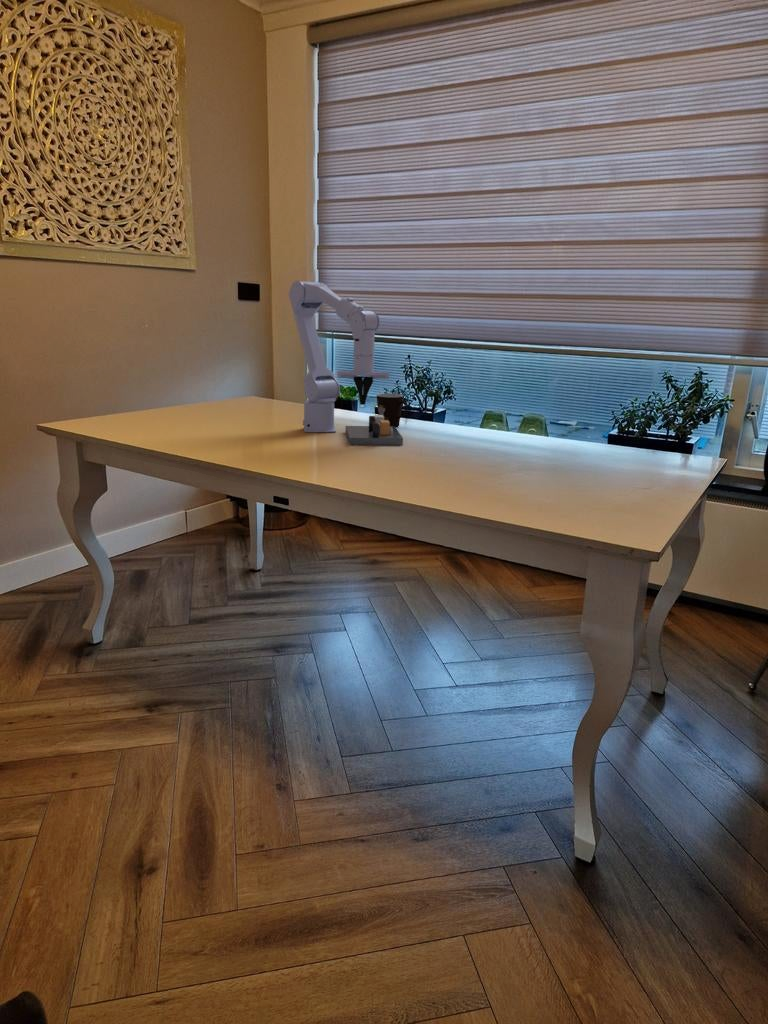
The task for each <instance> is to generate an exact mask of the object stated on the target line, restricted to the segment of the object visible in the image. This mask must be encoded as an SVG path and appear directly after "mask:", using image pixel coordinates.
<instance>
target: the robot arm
mask: <svg viewBox="0 0 768 1024" xmlns="http://www.w3.org/2000/svg"><path fill="white" fill-rule="evenodd" d="M328 287H329V286H328V285H327V284H325V283H323V282H321V281H303V280H302V281H300V280H294V281H293V282H292V283H291V286H290V289H289V291H288V297H289V300H290V304H291V308H292V311H293V317H294V322H295V325H296V329H297V332H298V335H299V339H300V344H301V347H302V351H303V355H304V359H305V363H306V366H307V369H308V372H307V373H306V375H304V377H303V383H304V394H305V397H306V398H307V400H308V401H307V400H305V401H304V402H303V403H304V404H303V420H302V426H304V427H303V429H304V430H303V431H304V433H336V431H337V430H336V426H335V402H336V401H337V398H338V397H339V396H340V392H341V387H340V383H339V381H338V380H337V379H345V378H346V379H353V381H354V384H355V387H356V390H357V392H358V398H359V399H358V400H359V405H366V401H367V397H368V393H369V391H370V389H371V387H372V385H373V383H374V379H376V380H377V379H380V380H383V379H384V380H389V379H390V372H389V371H381V370H374V369H375V368H374V367H375V366H374V365H375V364H374V363H375V362H374V360H375V335H376V334H375V333H376V332H375V331H377V330H378V328H379V327H380V317H379V315H378V313H377V312H376V311H375V310H374V309H369V310H366V309H365V307H364V306H363V305H359V304H358V303H356V302H355V301H354V300H355V299H354V298H352V297H343V298H342V297H341V296H339V295H338V294H336V293H335V292H334V291H332V290H331V289H330V288H328ZM323 304H325V305H327V306H329V307H331V308H332V309H334V310H335V315H336V316H337V317H338V318H339V319H341V320H342V321H344V322H345V323H347V324H349V327H350V329H351V333H352V335H351V336H352V338H353V361H352V362H353V364H352V366H353V368H352V370H351V369H350V370H337V371H336V372H337V376H335V373H334V372H333V371H332V370H331V369H329V368H328V367H327V365H326V360H325V357H324V354H323V350H322V347H321V341H320V338H319V335H318V331H317V328H316V325H315V324H316V323H315V321H314V316H315V314H316V313H318V312H319V310H320V309H321V307H322V305H323ZM336 377H337V378H336Z"/></svg>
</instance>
